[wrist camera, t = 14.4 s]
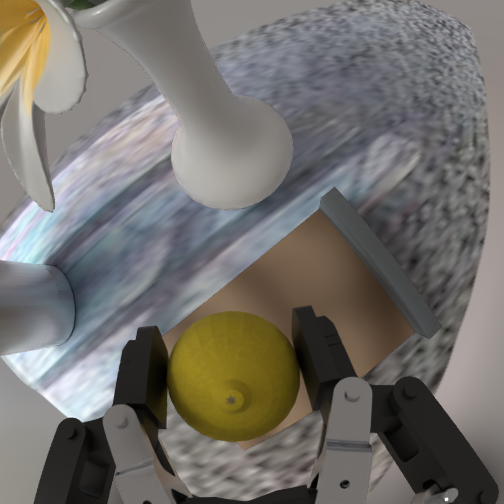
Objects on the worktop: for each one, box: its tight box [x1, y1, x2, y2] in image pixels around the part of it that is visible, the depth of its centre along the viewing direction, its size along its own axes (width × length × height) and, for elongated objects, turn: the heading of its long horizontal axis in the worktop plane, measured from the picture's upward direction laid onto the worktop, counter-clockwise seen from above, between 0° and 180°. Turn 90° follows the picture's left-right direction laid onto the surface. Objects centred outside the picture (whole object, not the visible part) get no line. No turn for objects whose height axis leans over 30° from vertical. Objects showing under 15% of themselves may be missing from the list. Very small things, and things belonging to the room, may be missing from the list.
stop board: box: [162, 187, 442, 450], centre depth 20 cm, size 18×12×4 cm, turn 129°
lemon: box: [166, 311, 300, 442], centre depth 11 cm, size 6×6×8 cm
